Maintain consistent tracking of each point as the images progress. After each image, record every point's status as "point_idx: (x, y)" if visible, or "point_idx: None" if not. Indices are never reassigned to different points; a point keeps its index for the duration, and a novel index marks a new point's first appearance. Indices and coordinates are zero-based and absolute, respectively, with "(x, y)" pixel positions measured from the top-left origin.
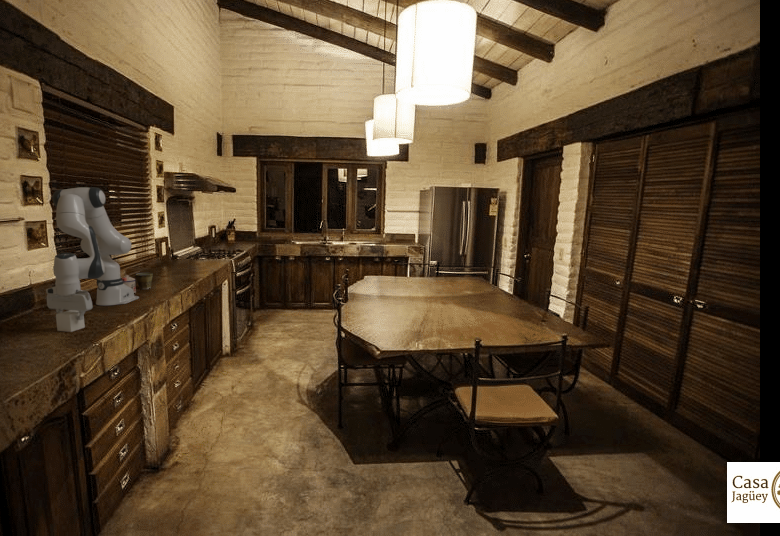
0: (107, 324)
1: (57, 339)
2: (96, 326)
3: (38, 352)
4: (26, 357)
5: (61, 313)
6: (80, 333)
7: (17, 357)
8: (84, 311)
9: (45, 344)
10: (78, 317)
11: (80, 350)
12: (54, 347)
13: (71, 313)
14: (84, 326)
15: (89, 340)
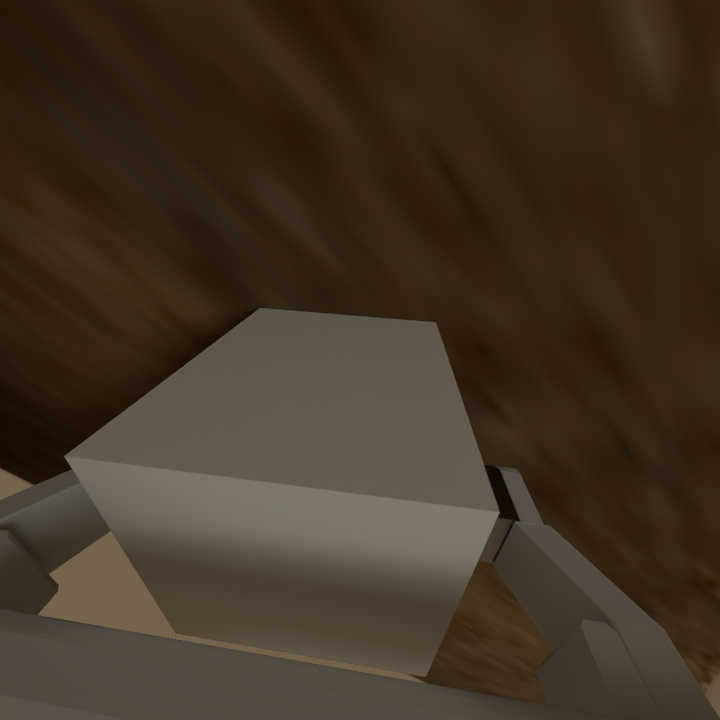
0: (706, 115)
1: None
2: (561, 261)
3: (496, 664)
4: (489, 685)
5: (218, 621)
6: (522, 478)
7: (455, 681)
8: (663, 661)
9: None
10: None
11: (694, 669)
12: (526, 637)
13: (380, 631)
14: (436, 329)
15: (685, 584)
